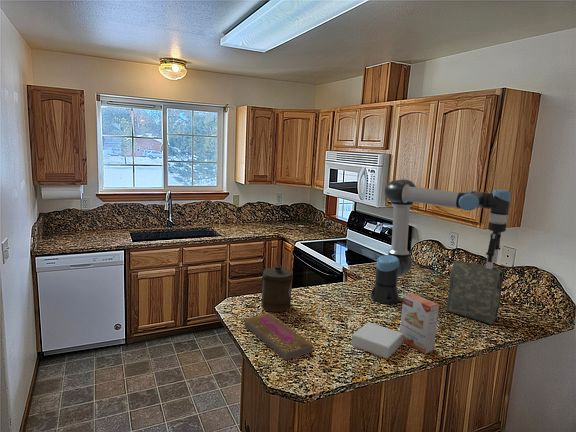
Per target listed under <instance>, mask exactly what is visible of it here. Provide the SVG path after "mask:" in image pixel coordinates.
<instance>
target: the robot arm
mask: <svg viewBox="0 0 576 432" xmlns="http://www.w3.org/2000/svg"><path fill="white" fill-rule="evenodd" d="M384 195H385V197H386V199H387V200H388V201H390V204H391V205H392V207H393V212H392V213H393V214H392V231H391V232H392V233H391V234H392V235H391V248H390V249H389V250H388V253H387V254H386V255H385V254H384V255H381V256H379V257H377V259H376V265H375V266H376V267H375V281H374V285H373V287H372V289H371V292H370V299H371V300H372V301H374V302H376V303H379V304H383V305H393V304H394V305H395V304H397V303H399V302H400V301H399V300H400V296H399V291H398V287H397V286H398V278H399V277H401V276H404V275H406V274H407V273H409V271H411V269H412V267H413V261H412V258H411V257H410V254H411V252H410V251H409V250H408V242H409V241H408V240H409V224H410V210H411V209H410V208H411V207H412V206H413V205H414V203H417V204H418V203H419V204H425V205H433V206H440V207H448V208H453V209H454V208H455V209H462V210H464V211H468V212H469V211H474V210H476V209H479V208H480V209H487V210H488V209H489V210H490V213H489V216H488V217H489V218H488V220H489V222H488V227H487V229H488V230H489V231H492V233H491V234H490V238H489V244H488V248H487V252H486V253H485V255H486V256H487V257H486V263H485V266H486V268H488V269H492V267H494V266H493V265H494V263H496V264H497V261H498V257H499V256H498V255H499V250H501V247H500V246H501V237H502V234H501V233H505V232H506V230H507V223H508V219H510V217H509V210H510V204H511V196H512V192H511V191H510V190H505V189H493V192H492V193H491V192H483V191H476V190H474V191H473V190H468V191H467V192H459V191H452V190H450V191H449V190H444V189H443V190H442V189H432V188H426V187H417V185H416V184H415V183H414V181H411V180H409V179H398V180H397V179H396V180H391V181H389V182H388V183H387V184H386V185H385V188H384Z"/></svg>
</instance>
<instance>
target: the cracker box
mask: <svg viewBox="0 0 576 432" xmlns="http://www.w3.org/2000/svg"><path fill="white" fill-rule="evenodd" d="M402 296H403V298H402V306H401V316H400V317H401V318H400V323H399V324H400V325H399V332H400V333H403V343H405V344H406V345H408V346H410V347H411V348H413V349H415V350H417V351H418V352H420V353H422V354H424V355H427V354H429V353H432V352H434V351H435V343H436V335H437V334H436V333H437V326H438V319H439V310H440V304H439V303H436V302H434V301H432V300H429V299H428V298H425V297H423V296H421V295H418V294H417V293H415V292H414V293H413V292H411V293H406V294H404V295H402Z"/></svg>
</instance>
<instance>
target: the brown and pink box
mask: <svg viewBox="0 0 576 432" xmlns="http://www.w3.org/2000/svg"><path fill="white" fill-rule="evenodd" d="M243 321H244V326H245V327H246V328H247V329H248V330H250V331H251V332H252V333H253V334H254V335H255V336H256V337H258V338H259V339H260V340H261V341H262V342H264V343H265V344H266V345H267V346H268V347H270V348H271V349H272V350H273V351H274V352H275V353H276V354H278V356H280V357H281V358H283V360H285V361H288V360H291V359H294V358H297V357H301V356H303V355H306V354H310V353H312V352H313V347H315V346H316V344H314V343H313V342H312V341H310V340H309V339H307V338H306V337H304V336H303V335H301V334H300V333H299V332H297V331H296V330H294V328H293V329H292V327H290V326H289V325H287V323H285V322H283V321H282V320H281V319H280V318H277V316H276V315H274V314H273V313H271V311H268V312H267V313H262V314H257V315H256V316H255V315H253V316H251V317H244V318H243Z"/></svg>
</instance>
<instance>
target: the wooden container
mask: <svg viewBox="0 0 576 432" xmlns="http://www.w3.org/2000/svg"><path fill="white" fill-rule="evenodd" d="M292 279H293V271H291V270H290V269H287V268H284V267H282V265H281V264H275V265H274V267H268V268H265V269H264V270H263V273H262V286H261V287H262V289H261V308H262V309H264V310H266V311H267V312H273V313H274V312H275V313H280V312H281V313H282V312H285V311H288V310H289V309H290V308H291V304H292V283H293V282H292Z"/></svg>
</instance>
